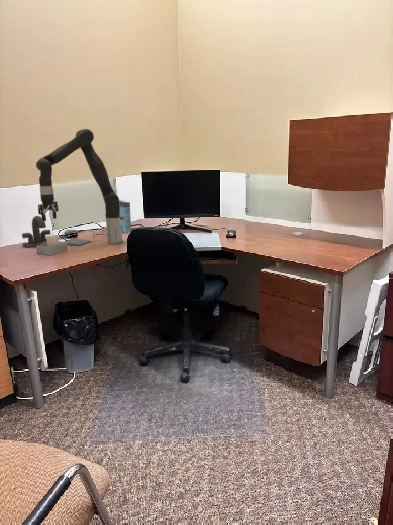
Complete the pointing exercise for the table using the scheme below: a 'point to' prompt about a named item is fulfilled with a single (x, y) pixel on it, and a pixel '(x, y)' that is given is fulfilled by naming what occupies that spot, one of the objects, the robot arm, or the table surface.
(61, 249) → the grey box
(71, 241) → the mat
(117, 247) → the table surface
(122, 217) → the gum box
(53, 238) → the block
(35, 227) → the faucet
